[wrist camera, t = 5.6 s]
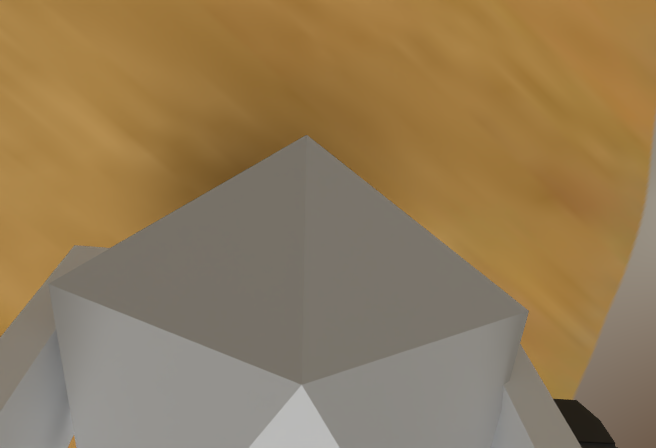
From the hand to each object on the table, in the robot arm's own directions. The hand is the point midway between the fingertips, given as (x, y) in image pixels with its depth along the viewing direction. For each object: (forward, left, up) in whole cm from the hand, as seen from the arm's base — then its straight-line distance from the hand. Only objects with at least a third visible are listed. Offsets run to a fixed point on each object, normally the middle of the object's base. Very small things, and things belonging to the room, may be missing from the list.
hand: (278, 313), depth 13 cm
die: (0, 0, -2) cm, 2 cm away
